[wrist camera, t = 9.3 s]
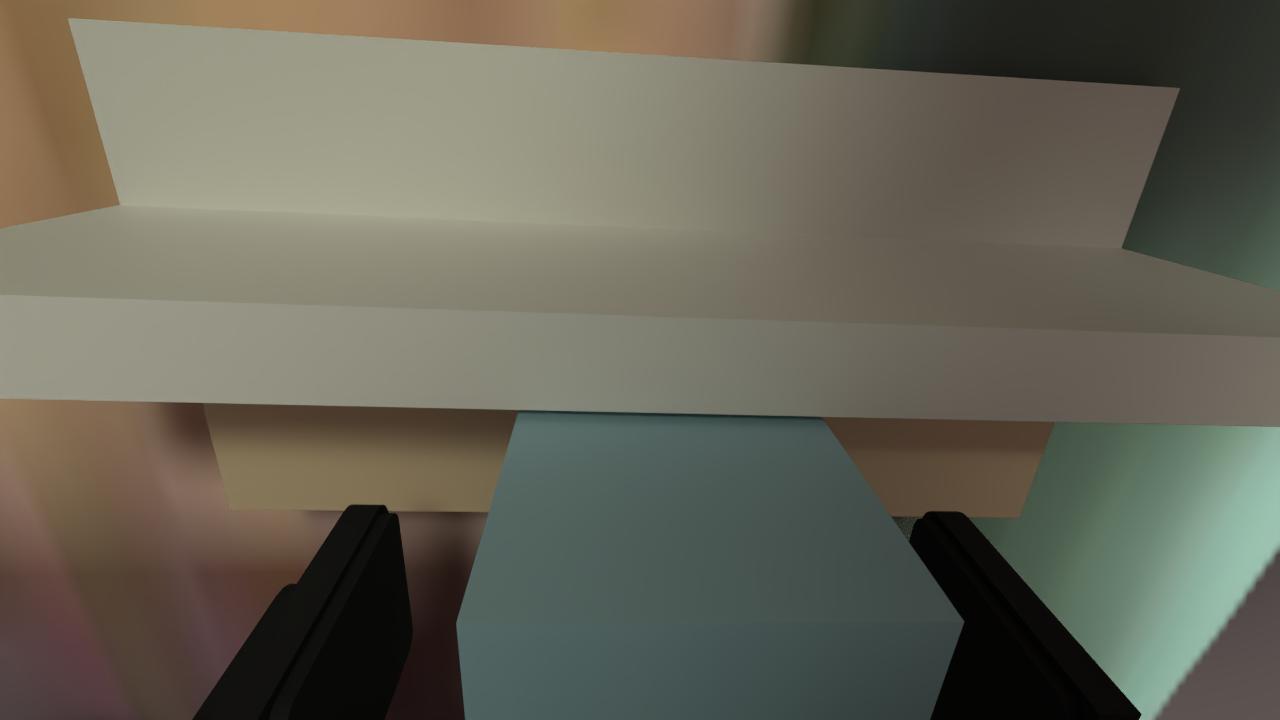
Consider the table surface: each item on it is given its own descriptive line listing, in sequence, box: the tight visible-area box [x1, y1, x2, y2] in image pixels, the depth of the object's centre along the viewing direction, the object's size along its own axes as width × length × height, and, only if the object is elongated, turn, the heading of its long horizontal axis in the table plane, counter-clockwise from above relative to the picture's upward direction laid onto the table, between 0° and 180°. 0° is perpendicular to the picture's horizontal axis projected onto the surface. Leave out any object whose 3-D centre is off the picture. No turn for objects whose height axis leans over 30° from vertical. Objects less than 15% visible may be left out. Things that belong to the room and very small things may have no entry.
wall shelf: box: [0, 18, 1280, 518], centre depth 13 cm, size 11×26×8 cm, turn 87°
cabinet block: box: [456, 410, 964, 720], centre depth 11 cm, size 7×5×8 cm
